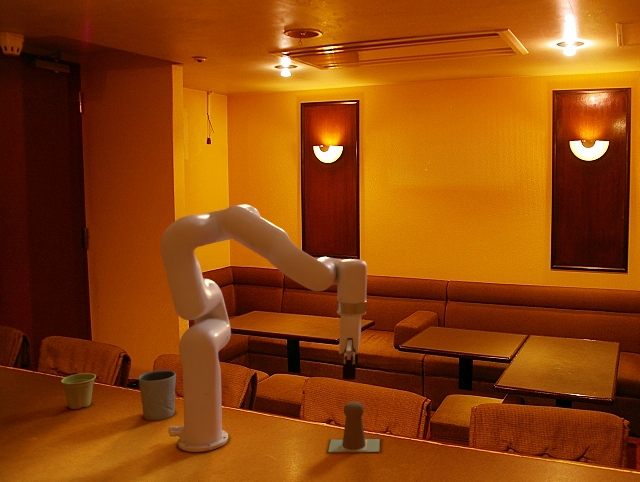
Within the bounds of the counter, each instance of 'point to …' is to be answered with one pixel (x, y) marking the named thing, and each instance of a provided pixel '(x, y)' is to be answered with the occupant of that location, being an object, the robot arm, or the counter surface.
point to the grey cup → (158, 394)
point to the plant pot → (78, 389)
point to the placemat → (370, 446)
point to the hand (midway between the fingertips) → (350, 373)
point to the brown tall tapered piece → (353, 426)
